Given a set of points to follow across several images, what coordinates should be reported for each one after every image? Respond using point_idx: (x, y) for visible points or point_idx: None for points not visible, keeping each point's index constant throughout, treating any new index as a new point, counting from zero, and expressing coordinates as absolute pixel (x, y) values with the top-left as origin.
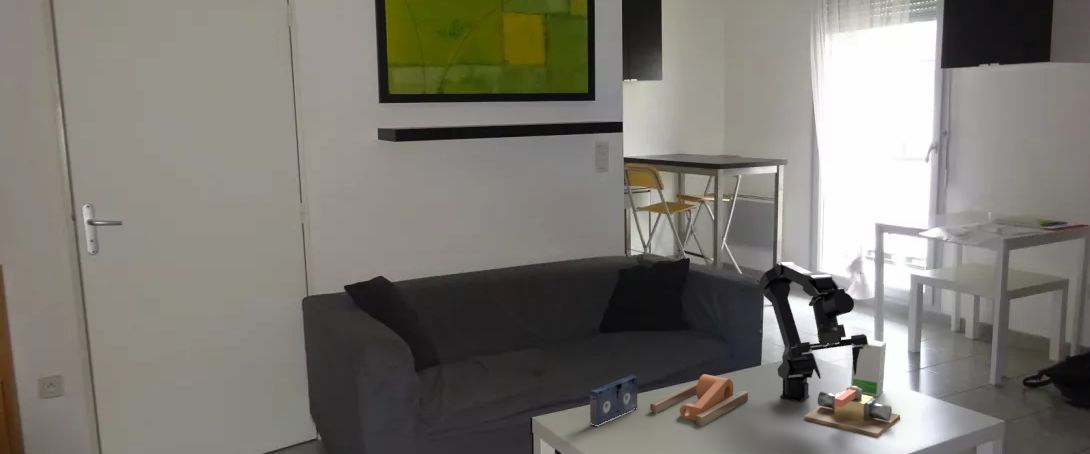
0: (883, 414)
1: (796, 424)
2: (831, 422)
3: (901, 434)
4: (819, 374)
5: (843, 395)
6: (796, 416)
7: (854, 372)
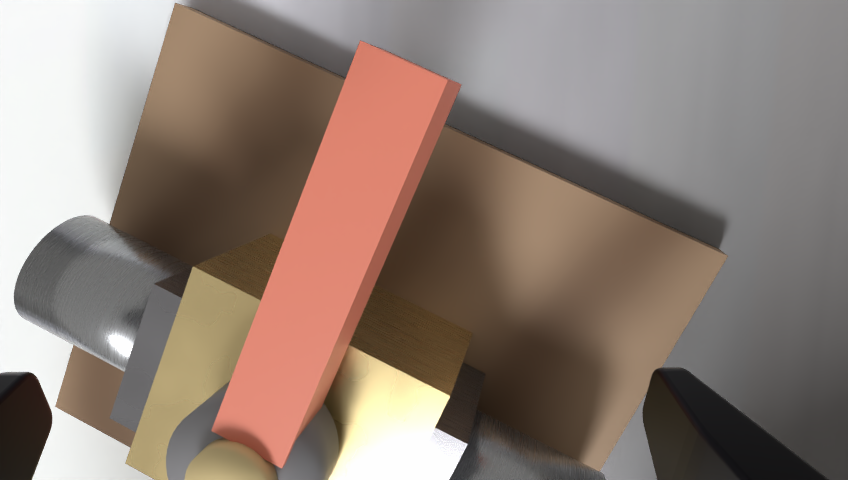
0: (94, 226)
1: (801, 122)
2: (503, 156)
3: (56, 113)
4: (691, 406)
5: (344, 225)
6: (781, 313)
7: (7, 382)
